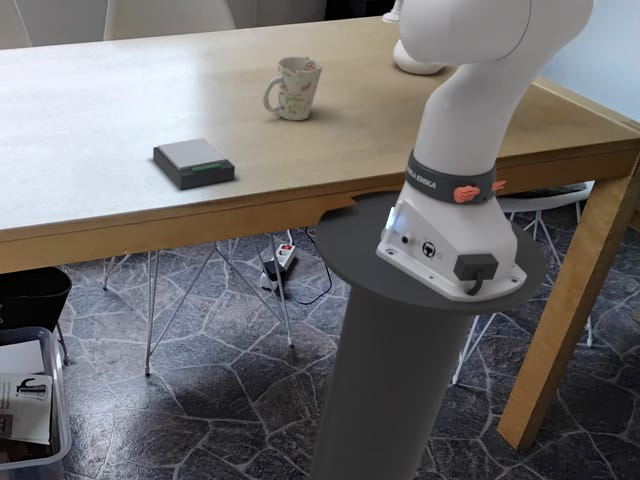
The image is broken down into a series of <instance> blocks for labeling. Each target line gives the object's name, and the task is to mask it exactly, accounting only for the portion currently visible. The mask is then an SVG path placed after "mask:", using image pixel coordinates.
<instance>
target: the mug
mask: <svg viewBox="0 0 640 480" xmlns="http://www.w3.org/2000/svg"><path fill="white" fill-rule="evenodd" d="M322 70H323V63H322V62H321V61H319V60H318V59H315V58H312V57H308V56H287V57H284V58H281V59H279V61H278V64H277V72H278V73H277V76H276V77H273V78H271V80H269V82H268V83H267V85H266V87H265V88H264V91H263V93H262V105H263V107H264V109H265V110H267V111H268V112H271V113H275V112H278V116H279V117H281V119H282V118H283V119H285V120H287V121H288V120H289V121H303V120H306V119H308V118H309V116H310V112H311V110H312V106H313V102H314V99H315V96H316V91H317V88H318V85H319V80H320V77H321V74H322ZM275 85H277V86H278V87H277V90H278V91H277V93H278V95H277V97H278V98H277V99H278V100H277V101H278V102H277V104H278V105H275V106H271V104H270V101H269V96H270V92H271V90H272V89H273V87H274V86H275Z"/></svg>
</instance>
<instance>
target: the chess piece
mask: <svg viewBox="0 0 640 480" xmlns="http://www.w3.org/2000/svg"><path fill="white" fill-rule="evenodd" d="M402 5H403V2H400V1H399V0H395V1H394V5H393V8H392V9H391V10H390V12H387V13H384V14H383V16H382V18H381V20H382V21H383V22H385V23H387V24H391V25H392V24H393V25H399V16H400V11H401V8H402Z"/></svg>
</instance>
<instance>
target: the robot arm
mask: <svg viewBox="0 0 640 480" xmlns="http://www.w3.org/2000/svg"><path fill="white" fill-rule="evenodd" d="M399 1H400V2H403V5H402V8H401V11H400V16H399V24H398V34H399V35H398V36H399V39H401V42H402V45H403V47H404V49H405V51H406V52H407V54H408V55H409V56H410V57H411V58H412V59H413V60H415V61H417V62H420V63H426V64H433V65H443V66H444V67H456V66H459V67H458V68H457V69H456V70H455V72H453V74H452V75H451V76H450V78H448V79H447V80H445V81H444V82H443V83H442V84H441V85H440V86H438V87H437V88H436V89H435V90H434V91H433V92H432V93H431V94H430V96H429V97H428V99H427V101H426V102H425V106H424V109H423V113H422V118H421V121H420V125H419V129H418V132H417V136H416V140H415V144H414V147H413V148H412V149H411V150H410V152H409V155H408V159H407V160H406V164H405V170H404V182H403V183H404V184H403V186H402V188H401V190H402V191H401V193H400V195H399V198H398V200H397V203H396V205H395V208H393V207H392V209H391V213H390V216H389V219H388V222H387V225H386V226H385V228H384V229H383V231H382V233H381V243H380V244H379V245H378V248H377V250H376V254H377V256H379V257H380V258H382V259H384V260H385V261H387V262H388V263H390V264H392V265H393V266H395V267H397V268H398V269H400V270H402V271H403V272H405V273H406V274H408V275H410V276H411V277H413V278H415V279H416V280H418V281H420V282H421V283H423V284H424V285H426V286H428V287H429V288H431V289H433V290H434V291H436V292H438V293H439V294H441V295H442V296H444V297H446V298H448V299H449V300H452V301H458V302H478V301H485V300H491V299H494V298H498V297H502V296H505V295H508V294H510V293H513V292H515V291H516V290H518V289H519V288H521V287H522V286H523V285H524V283H525V281H526V277H527V275H526V273H525V272H524V271H523V270H522V269H521V268H520V267H519V266H518V265H517V264H516V263H514V261H515V256H516V252H517V238H516V236H515V234H514V232H513V231H512V226H511V223H510V221H509V220H510V219H509V220H507V219H506V218H507V217H506V215H505V214H504V211H503V209H502V208H501V207H502V206H501V205H500V203H499V202H498V200H497V198H496V194H497V190H501V189H505V187H504V186H503V185H504V184H506V182H507V181H506V180H501V181H497V164H496V161H497V157H498V155H499V151H500V149H501V147H502V143H503V140H504V137H505V135H506V133H507V130H508V127H509V124H510V122H511V120H512V117H513V116H514V113H515V111H516V109H517V107H518V105H519V104H520V102H521V100H522V99H523V98H524V96H525V95H526V93H527V91H528V89H530V87H531V85H532V84H533V82H534V81H535V80H536V78H538V76H539V74H540V73H541V72H542V71H543V69H544V68H545V67H546V66H547V64H548V63H549V62H550V61H551V60H552V59H553V58H554V57H555V55H556V54H557V53H559V51H561V50H562V49H563V48H564V47H565V46H567V45H568V44H569V43H571V42H572V41H574V40H575V39H576V38H577V37H578V36H579V35H580V34H581V33H582V32H583V31H584V29H585V28H586V26H587V24H588V23H589V20H590V18H591V16H592V13H593V8H594V3H595V2H594V1H595V0H399Z"/></svg>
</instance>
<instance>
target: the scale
mask: <svg viewBox="0 0 640 480" xmlns="http://www.w3.org/2000/svg"><path fill="white" fill-rule="evenodd" d="M152 148H153V149H152V161H153V162H154V163H155V164H156V165H157V166H158V167H159V168H160V170H162V171H163V172H164V173H165V175H167V177H168V178H169V179H170V180H171V181H172V182H173V183H174V184H175V185H176V187H177V188H178V189H180V191H182V190H187V189H192V188H197V187H202V186H203V187H204V186H208V185H212V184H217V183H222V182H228V181H233V180H235V171H236V166H235V165H234V164H233V163H232V162H231V161H230V160H229V159H228V158H226V157H225V156H224V155H223V154H222V153H221V152H220V151H219V150H218V149H217V148H215V146H213V145H212V144H211V143H210V142H209V141H208V140H207V139H205V137H199V138H194V139H193V138H192V139H188V140H187V139H186V140H181V141H177V142H171V143H164V144H159V145H157V146H153V147H152Z"/></svg>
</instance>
